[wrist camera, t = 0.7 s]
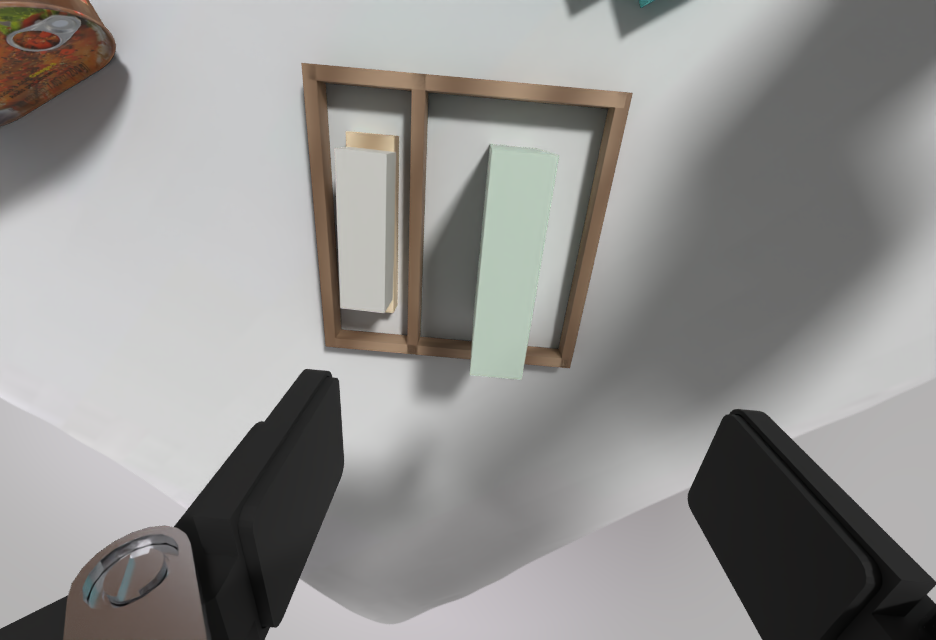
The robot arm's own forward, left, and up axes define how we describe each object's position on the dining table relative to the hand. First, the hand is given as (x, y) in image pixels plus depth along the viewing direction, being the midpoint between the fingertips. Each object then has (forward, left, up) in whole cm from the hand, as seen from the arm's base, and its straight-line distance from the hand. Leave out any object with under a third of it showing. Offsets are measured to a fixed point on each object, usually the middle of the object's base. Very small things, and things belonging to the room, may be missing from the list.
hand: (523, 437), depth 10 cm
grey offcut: (+9, 0, -19) cm, 21 cm away
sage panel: (0, 0, -21) cm, 21 cm away
